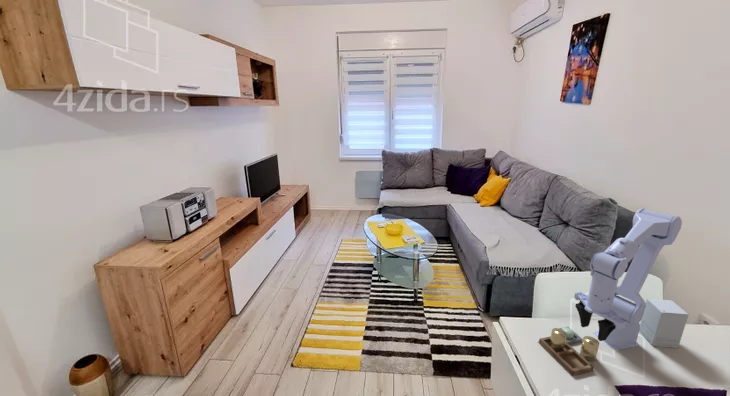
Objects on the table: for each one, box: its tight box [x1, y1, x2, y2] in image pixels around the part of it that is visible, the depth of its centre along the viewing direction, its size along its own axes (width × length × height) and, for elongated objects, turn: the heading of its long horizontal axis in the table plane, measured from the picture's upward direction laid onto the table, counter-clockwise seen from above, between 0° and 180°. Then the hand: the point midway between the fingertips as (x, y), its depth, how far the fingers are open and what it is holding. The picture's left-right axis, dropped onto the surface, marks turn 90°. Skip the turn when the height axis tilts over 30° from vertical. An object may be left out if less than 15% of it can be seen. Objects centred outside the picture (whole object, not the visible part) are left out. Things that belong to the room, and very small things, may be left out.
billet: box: [579, 335, 600, 363], centre depth 96 cm, size 4×4×6 cm
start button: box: [561, 326, 575, 340], centre depth 104 cm, size 4×4×2 cm
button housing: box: [559, 326, 583, 345], centre depth 105 cm, size 6×6×2 cm
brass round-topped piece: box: [549, 327, 567, 352], centre depth 99 cm, size 4×4×6 cm
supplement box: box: [639, 298, 689, 349], centre depth 101 cm, size 7×7×13 cm
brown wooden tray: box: [537, 335, 595, 377], centre depth 97 cm, size 8×14×2 cm, turn 12°
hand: (593, 332), depth 94 cm, fingers open, 5 cm apart
